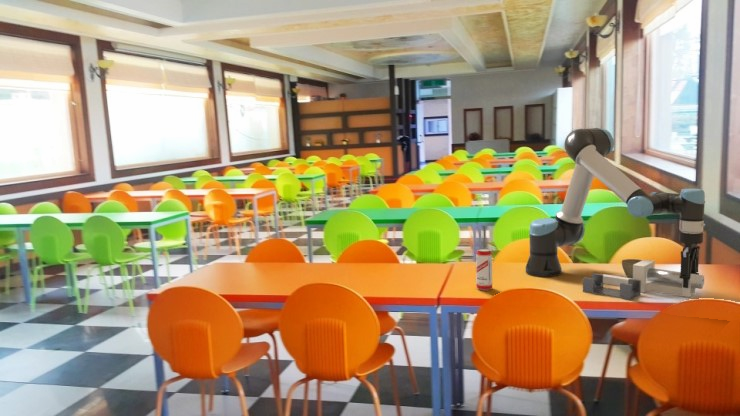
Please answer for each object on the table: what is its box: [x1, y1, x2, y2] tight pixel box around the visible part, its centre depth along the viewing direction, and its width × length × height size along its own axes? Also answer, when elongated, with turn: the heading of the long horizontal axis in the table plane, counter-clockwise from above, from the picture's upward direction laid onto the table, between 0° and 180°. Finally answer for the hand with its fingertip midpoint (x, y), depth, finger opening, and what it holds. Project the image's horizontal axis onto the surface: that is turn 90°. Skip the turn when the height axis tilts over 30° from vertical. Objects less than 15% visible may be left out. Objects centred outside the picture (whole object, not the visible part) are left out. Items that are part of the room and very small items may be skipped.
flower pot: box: [621, 258, 643, 279], centre depth 231 cm, size 10×10×7 cm
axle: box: [647, 268, 705, 290], centre depth 208 cm, size 18×5×5 cm, turn 44°
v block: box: [582, 272, 641, 301], centre depth 212 cm, size 18×9×6 cm, turn 44°
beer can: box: [475, 248, 493, 291], centre depth 224 cm, size 6×6×16 cm
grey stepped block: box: [603, 259, 683, 297], centre depth 216 cm, size 31×11×10 cm, turn 44°
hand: (688, 294), depth 205 cm, fingers closed on axle, 5 cm apart
